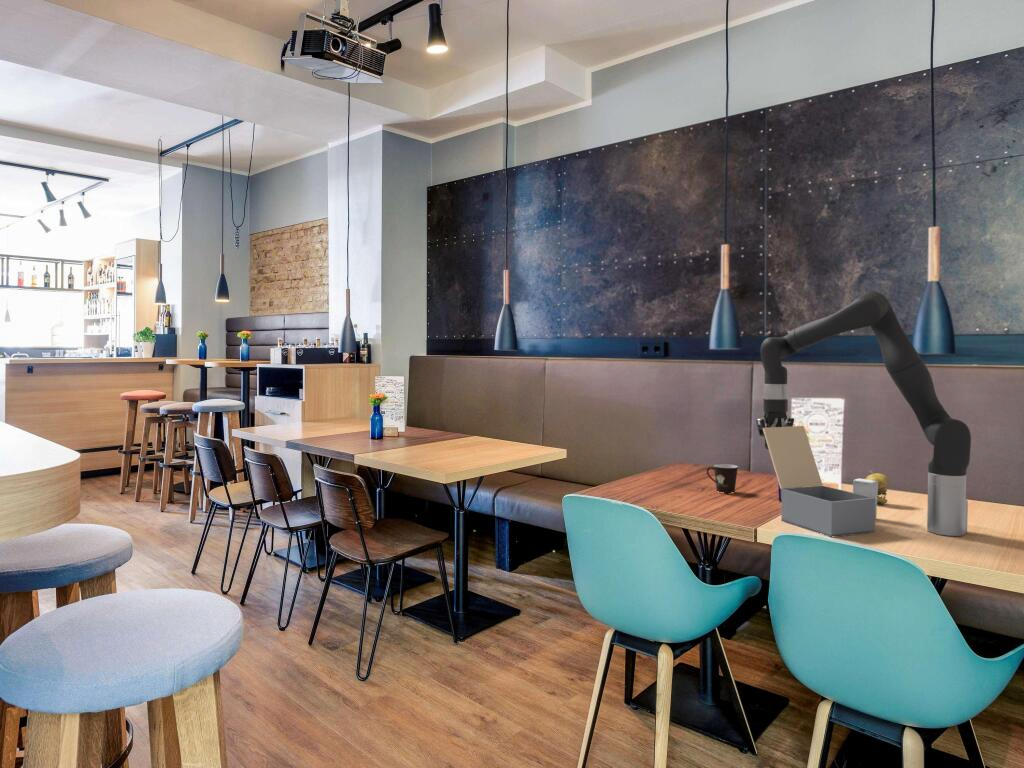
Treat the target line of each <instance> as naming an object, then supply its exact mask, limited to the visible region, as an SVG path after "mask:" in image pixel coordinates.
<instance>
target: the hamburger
mask: <svg viewBox="0 0 1024 768" xmlns="http://www.w3.org/2000/svg"><path fill="white" fill-rule="evenodd" d="M868 471H869V472H870V473H871V474H869V475H867V476H866V477H865V478H864V479H867V480H873V481H878V494H877V503H878V504H877V505H886V504H887V503H888V499H886V496H887V492H888V489H887V488H886V487H887V486H888V485H889V483H890V480H889V478H888V477H887V475H885V474H883V473H879V472H878V473H874V472H873V470H868ZM869 472H868V473H869Z"/></svg>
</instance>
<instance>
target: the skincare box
mask: <svg viewBox="0 0 1024 768" xmlns="http://www.w3.org/2000/svg"><path fill="white" fill-rule="evenodd" d="M852 481H853V482H852V483H853V484H852V493H856V494H860V495H864V496H869V497H873V498H875V520H876V519H877V508H878V504H877V496H878V495H877V494H878V481H873V480H867V479H865V478H856V479H853V480H852Z"/></svg>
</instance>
